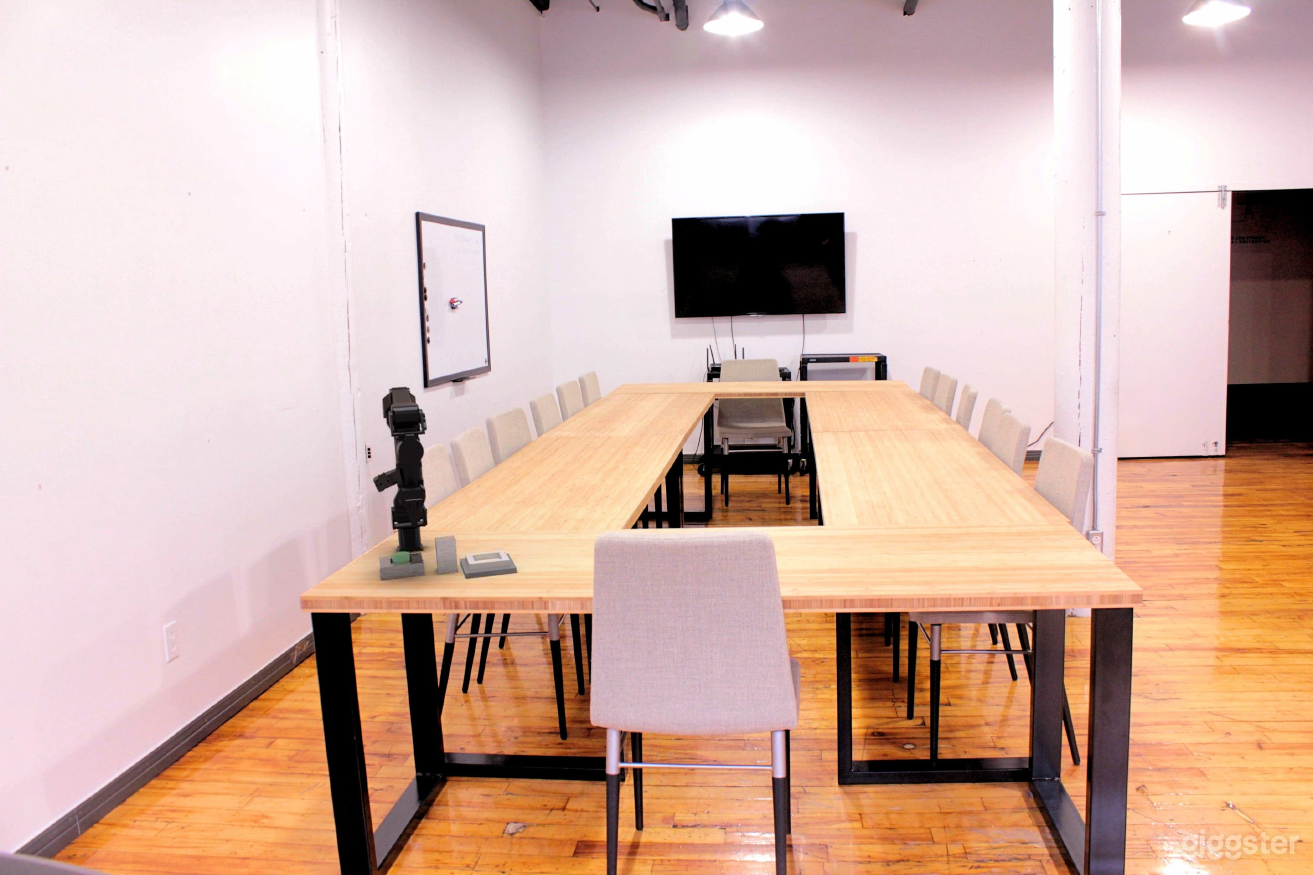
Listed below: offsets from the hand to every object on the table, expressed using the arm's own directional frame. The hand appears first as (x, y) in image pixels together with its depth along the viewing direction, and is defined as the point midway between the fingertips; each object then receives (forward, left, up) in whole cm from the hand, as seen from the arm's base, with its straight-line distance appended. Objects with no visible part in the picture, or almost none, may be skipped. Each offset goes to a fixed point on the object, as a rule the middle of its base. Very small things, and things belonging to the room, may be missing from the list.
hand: (413, 522), depth 236 cm
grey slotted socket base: (+4, +16, -12) cm, 21 cm away
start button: (-1, -4, -12) cm, 12 cm away
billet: (+2, +7, -12) cm, 14 cm away
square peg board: (-1, -4, -12) cm, 13 cm away
